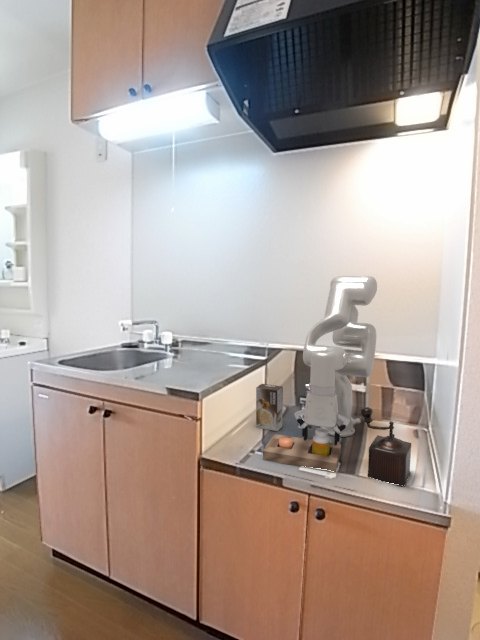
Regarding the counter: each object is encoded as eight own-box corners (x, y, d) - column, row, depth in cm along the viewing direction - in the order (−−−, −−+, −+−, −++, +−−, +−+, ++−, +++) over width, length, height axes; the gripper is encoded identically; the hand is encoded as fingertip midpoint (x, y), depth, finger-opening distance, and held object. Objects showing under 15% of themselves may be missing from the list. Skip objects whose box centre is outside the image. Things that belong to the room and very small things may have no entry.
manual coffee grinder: (411, 471, 116) (414, 414, 114) (404, 488, 107) (408, 426, 105) (360, 457, 125) (362, 404, 123) (349, 472, 115) (351, 414, 113)
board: (262, 459, 123) (262, 450, 122) (274, 442, 136) (274, 433, 136) (336, 472, 115) (336, 463, 115) (340, 452, 128) (341, 444, 128)
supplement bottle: (329, 463, 120) (330, 434, 119) (311, 462, 121) (312, 432, 120) (328, 456, 126) (329, 427, 124) (312, 454, 127) (313, 426, 126)
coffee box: (283, 425, 150) (283, 386, 149) (277, 431, 145) (278, 390, 143) (261, 421, 155) (262, 383, 153) (255, 427, 149) (255, 387, 147)
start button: (287, 445, 130) (288, 436, 130) (294, 451, 126) (295, 441, 126) (276, 448, 128) (276, 438, 128) (283, 453, 124) (283, 444, 124)
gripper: (292, 390, 120) (291, 441, 122) (349, 396, 114) (347, 450, 116) (297, 383, 127) (296, 432, 129) (351, 389, 121) (349, 440, 123)
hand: (320, 441), depth 123 cm, fingers open, 9 cm apart
